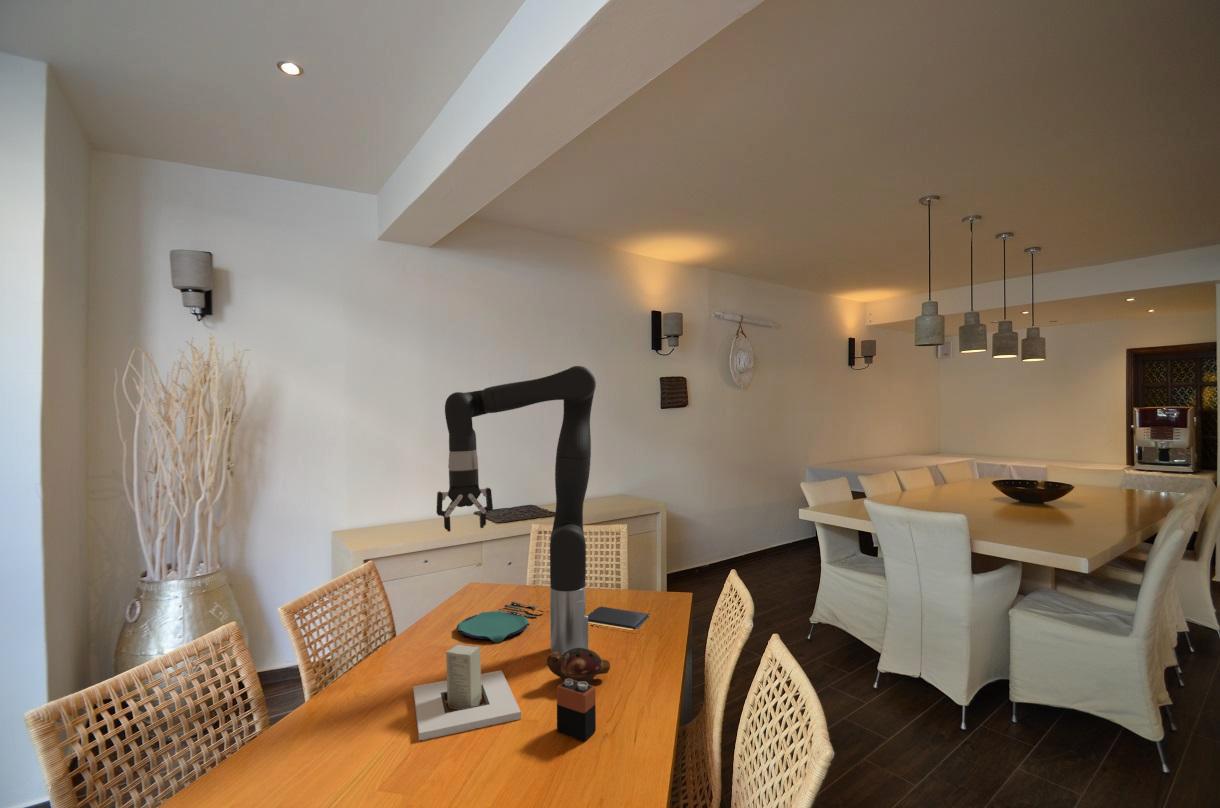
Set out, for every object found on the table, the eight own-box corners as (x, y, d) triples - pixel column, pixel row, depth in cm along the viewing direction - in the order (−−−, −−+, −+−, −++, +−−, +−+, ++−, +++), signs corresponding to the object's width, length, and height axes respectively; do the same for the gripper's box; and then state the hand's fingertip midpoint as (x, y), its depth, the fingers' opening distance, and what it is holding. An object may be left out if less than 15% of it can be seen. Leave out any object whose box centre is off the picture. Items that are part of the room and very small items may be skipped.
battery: (584, 743, 108) (584, 690, 108) (555, 732, 112) (555, 682, 112) (596, 732, 112) (596, 681, 112) (568, 722, 115) (568, 673, 115)
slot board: (501, 676, 135) (501, 670, 135) (520, 718, 117) (520, 711, 117) (413, 693, 128) (413, 686, 128) (418, 741, 109) (418, 733, 109)
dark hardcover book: (656, 612, 173) (636, 630, 160) (656, 618, 173) (636, 637, 159) (598, 603, 182) (575, 619, 168) (598, 609, 182) (575, 625, 168)
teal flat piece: (443, 635, 160) (443, 627, 160) (508, 604, 187) (508, 597, 187) (498, 650, 151) (498, 641, 151) (559, 615, 177) (559, 607, 178)
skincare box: (482, 702, 123) (482, 646, 123) (470, 713, 119) (470, 655, 119) (457, 698, 125) (457, 643, 125) (445, 708, 121) (445, 651, 121)
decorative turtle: (540, 680, 133) (542, 645, 134) (600, 673, 139) (601, 639, 140) (552, 697, 124) (553, 660, 125) (615, 689, 130) (616, 653, 131)
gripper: (436, 471, 143) (438, 535, 143) (493, 467, 148) (495, 528, 148) (434, 468, 150) (436, 529, 150) (488, 464, 155) (490, 523, 155)
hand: (465, 529), depth 149 cm, fingers open, 8 cm apart
